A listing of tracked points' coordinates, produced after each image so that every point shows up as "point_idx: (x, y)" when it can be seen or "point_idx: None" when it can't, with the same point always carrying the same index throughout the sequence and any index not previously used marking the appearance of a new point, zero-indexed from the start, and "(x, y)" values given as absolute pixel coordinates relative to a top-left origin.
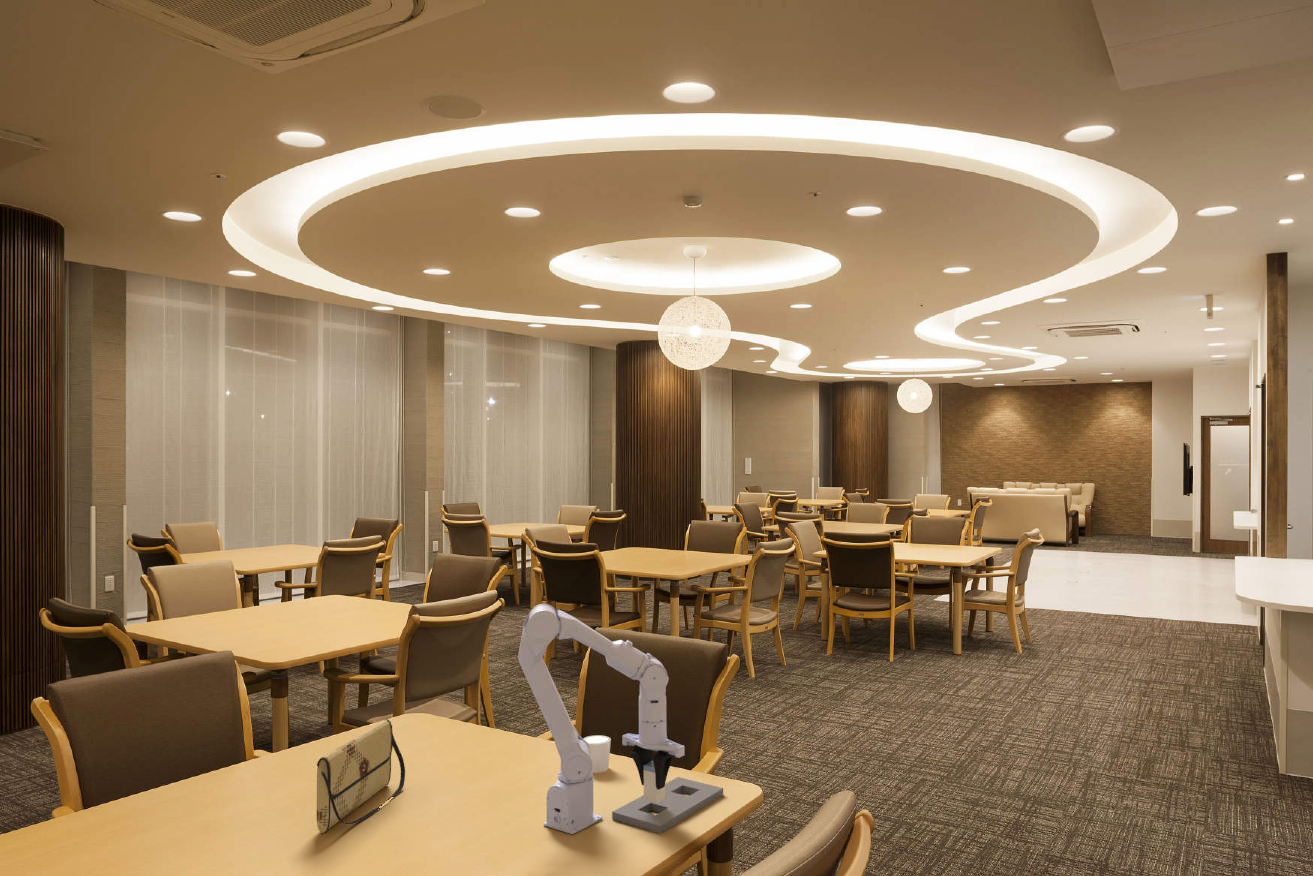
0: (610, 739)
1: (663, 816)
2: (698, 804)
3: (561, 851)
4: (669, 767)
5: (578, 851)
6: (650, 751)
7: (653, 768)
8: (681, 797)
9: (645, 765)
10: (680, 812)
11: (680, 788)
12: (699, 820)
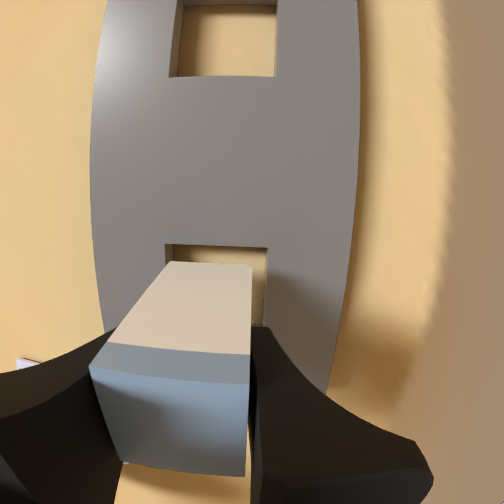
0: None
1: (297, 334)
2: (358, 126)
3: (173, 499)
4: (321, 393)
5: (199, 494)
6: (44, 451)
7: (219, 472)
8: (253, 104)
9: (135, 463)
10: (341, 263)
11: (178, 9)
12: (396, 216)
